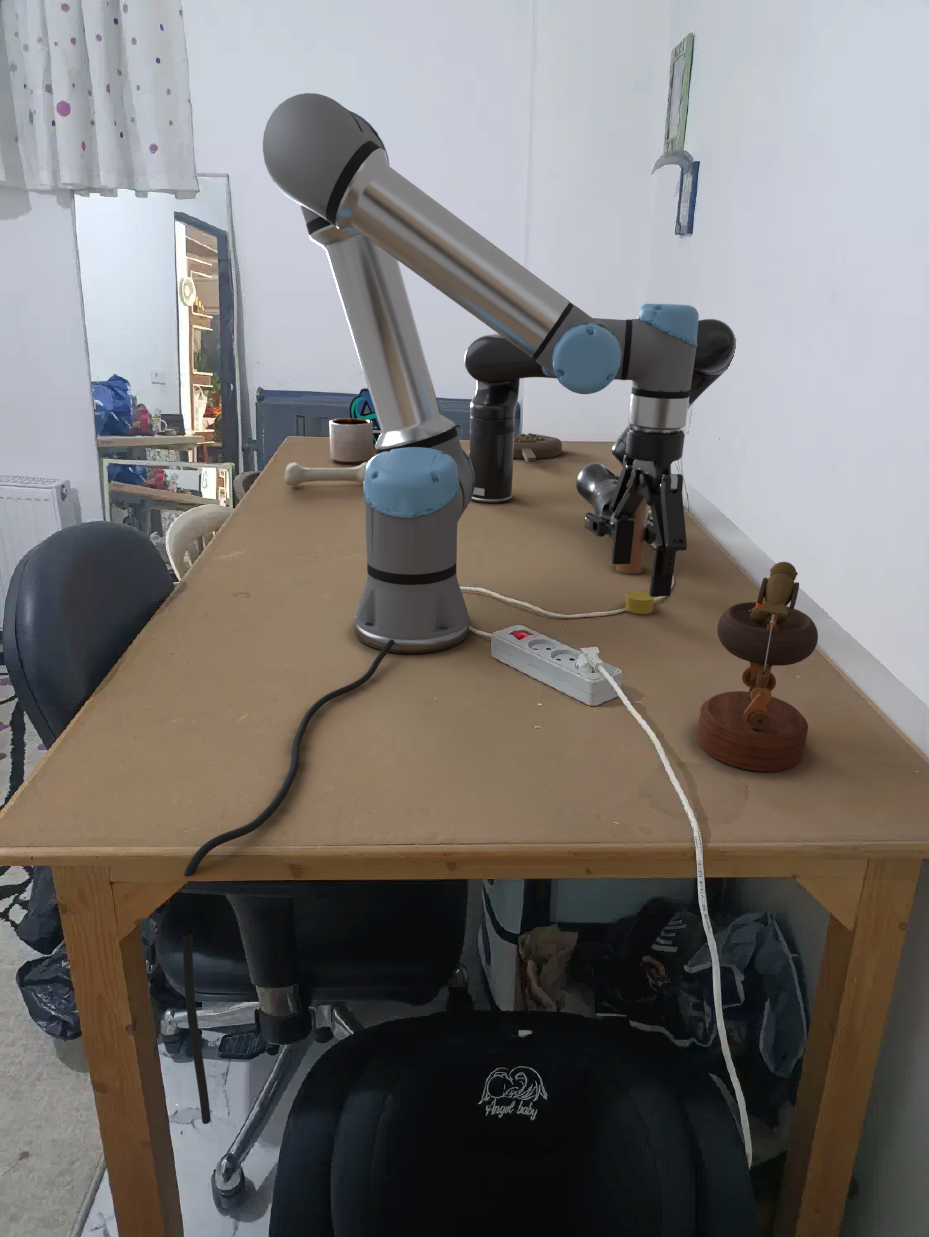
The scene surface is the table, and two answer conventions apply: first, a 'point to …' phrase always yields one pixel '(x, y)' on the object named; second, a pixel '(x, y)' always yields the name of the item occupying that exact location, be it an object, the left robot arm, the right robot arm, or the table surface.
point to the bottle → (637, 541)
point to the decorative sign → (359, 407)
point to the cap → (639, 602)
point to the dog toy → (323, 474)
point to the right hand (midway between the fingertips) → (635, 537)
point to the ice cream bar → (535, 447)
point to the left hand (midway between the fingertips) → (639, 578)
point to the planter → (351, 440)
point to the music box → (760, 680)
